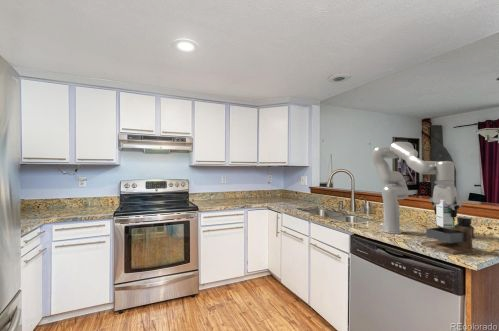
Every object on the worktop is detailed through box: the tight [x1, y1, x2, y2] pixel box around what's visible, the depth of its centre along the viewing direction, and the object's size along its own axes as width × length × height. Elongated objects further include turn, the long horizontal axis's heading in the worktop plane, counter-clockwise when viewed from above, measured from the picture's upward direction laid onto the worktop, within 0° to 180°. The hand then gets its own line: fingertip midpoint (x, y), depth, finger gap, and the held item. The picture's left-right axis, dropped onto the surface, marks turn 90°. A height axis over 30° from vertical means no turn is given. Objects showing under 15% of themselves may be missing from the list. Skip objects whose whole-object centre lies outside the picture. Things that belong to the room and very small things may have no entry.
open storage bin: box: [425, 227, 466, 243], centre depth 129 cm, size 12×12×4 cm
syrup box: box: [435, 200, 456, 228], centre depth 129 cm, size 6×6×14 cm
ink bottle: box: [455, 216, 475, 239], centre depth 152 cm, size 10×9×12 cm
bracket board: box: [420, 224, 473, 255], centre depth 129 cm, size 16×15×12 cm
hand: (445, 215), depth 129 cm, fingers closed on syrup box, 7 cm apart
